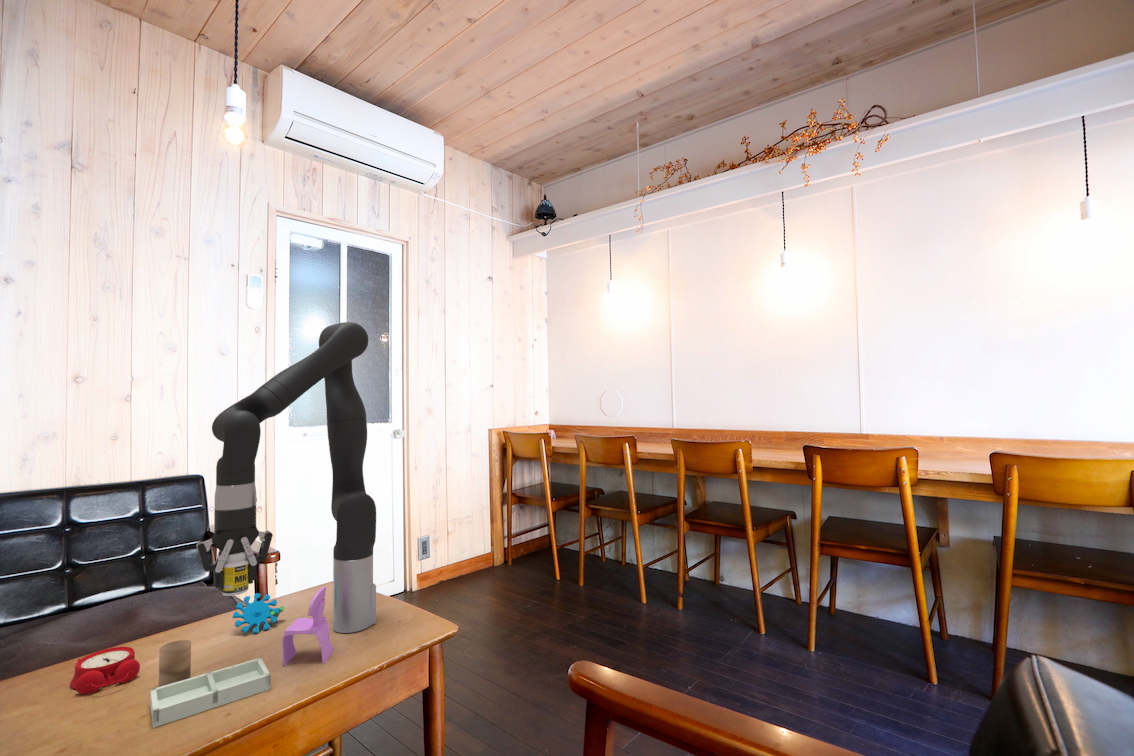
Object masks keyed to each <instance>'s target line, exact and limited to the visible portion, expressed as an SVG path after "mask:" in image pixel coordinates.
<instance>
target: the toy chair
mask: <svg viewBox="0 0 1134 756" xmlns="http://www.w3.org/2000/svg"><path fill="white" fill-rule="evenodd" d="M325 596H326V586H325V585H324V586H322V587H320V588H319V589H318V591H317V592H316V593H315V594H314V596H313V597H312V599H311V600H310V603H309V607H308V613H307V616H308V617H309V618H307V617H297V618H296V619H295V620H294V621H293V622H292V623H291V624H290V625H289V626H288V627H287V628H286V629H285V630H284V635H283V636H282V638H281V640H282V641H281V646H282V649H281V650H282V667H286V666H287V665H288V663H289V662H290V661H291V660H292V659H293V657H294V656H295V655H296V654H297V652H298V651H297V649H296V647H295V644H294V635H314V636H315V637H316V639H317V640H318V643H319V645H320V646H319V647H320V650H321V664H322V665H324V664H325V663H326V661H327V660H329V657H331V656H332V654H333V652H334V651H335V650H334V647H333V645H332V642H331V639H330V626H329V622H328V620H327V616H324V611H325V610H324V608H325V605H326V603H325V602H326V598H325Z"/></svg>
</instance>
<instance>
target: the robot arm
mask: <svg viewBox="0 0 1134 756" xmlns="http://www.w3.org/2000/svg"><path fill="white" fill-rule="evenodd" d="M368 345H369V335H368V333H367V331H366V329H365V328H364V327H363V326H362V325H361V324H358V323H357V322H354V321H353V322H349V321H346V322H339V323H336V324H335V323H334V324H331V325H328V326H326V327H325V328H324V329H322V331H321V333H320V335H319V338H318V347H319V348H317V349H316V350H314V351H313V352H312V353H310V354H309V355H308V356H306V357H304V358H303V359H301V360H299V361H297V362H296V363H294V364H291V365H290V366H288V367H287V368H285V369H283V370H282V371H280V372H278V373H277V374H275V375H274V376H272V377H271V378H270V379H269V380H267V381H265V383H263V384H262V385H261V386H259V387H258V388H257V389H256V390H255V391H253V392H251V394H249V395H247V396H245V397H244V398H242V399H241V400H238V401H237V402H235V403H234V404H232V405H230V406H228V407H227V408H226V409H224V410H222V411H221V412H220V413H219V414H218V415H217V416H216V417H215V418H214V420H213V421H212V425H211V432H212V435H213V436H214V438H216V439H217V440H218V441H220V442H223V447H222V456H221V457H220V458H218V460H217V462H216V468H215V469H216V470H215V474H216V475H215V491H214V509H213V510H214V513H213V514H214V516H213V517H214V519H213V520H214V522H213V524H214V527H213V528H214V531H213V534H212V536H211V538H210V539H207V540H205V541H198V542H197V543H195V547H196V550H197V552H198V556H199V558H200V561H201V565H202V567H203V569H204V571H205V572H212V573H213V585H214V587H215V589H218V591H222V590H223V571H222V568H223V566H224V563H225V562H226V559H227V557H228V555H229V554H235V553H241V552H246V555H247V558H246V559H248V561H249V584H248V585H251V584H253V583H254V581H256V579H257V565H258V564H259V563H261V562H264V561H266V560H267V557H268V554H269V549H270V546H271V542H272V540H273V539H272V538H273V533H272V532H271V531H270V530H265V531H259V529H258V528H257V502H258V497H257V489H256V465H255V463H256V458H257V454H258V450H259V446H260V439H261V423H262V422H264V421H265V420H267V419H269V418H273V417H276V416H278V415H279V414H281V413H282V412H284V411H285V410H286V409H287V408H289V407H290V406H291V405H292V404H293V403H294V402H296V401H297V400H298V399H299V398H300V397H301V396H303V395H304V394H305V393H306V392H308V391H309V389H311V388H313V386H315V385H316V384H318V383H319V382H320V381H322V380H324V390H325V404H326V426H327V427H326V429H327V431H326V432H327V439H328V447H329V448H328V449H329V456H330V457H329V459H330V463H331V469H332V471H331V472H332V488H331V491H332V492H331V502H330V503H331V505H330V507H331V508H330V509H331V515H332V516H333V517H332V518H333V519H334V520H335V521H336V534H335V535H336V538H335V539H336V540H335V545H334V546H333V555H332V556H333V558H332V559H333V560H332V561H333V566H332V567H333V568H332V569H333V570H332V571H333V574H332V577H333V578H332V579H333V581H332V584H333V585H332V586H333V587H332V592H333V593H332V630H333V631H334V632H337V633H340V634H350V633H351V634H352V633H357V632H360V631H363V630H367V628H369V627H371V626H372V625H375V624H377V585H376V583H374V546H375V543H376V535H377V506H376V503H375V501H374V498H372V496H370V495H369V494H368V493H366V492H367V491H366V486H365V481H364V480H365V479H364V459H365V455H366V448H367V443H368V426H367V425H368V424H367V423H368V422H367V413H366V408H365V407H366V406H365V405H364V404H365V403H364V402H363V400H362V397H361V395H360V393H359V391H358V389H357V386H356V385H355V381H354V375H353V360H355V359H356V358H358V357H359V356H361V355H363V354H364V352H366V350H367V349H368ZM258 537H259V541H260V548H259V551H258V554H257V555H255V553H254V551H253V549H252V545H253V544H254V543H255V541H256V540H257V538H258ZM212 545H214V546H215V547H216V548H217V549H218V550H219V551H218V553H217V555H216V560H215V562H214V563H211V561H210V558H209V555H208V552H209V551H210V550H211V546H212Z"/></svg>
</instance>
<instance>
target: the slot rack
mask: <svg viewBox="0 0 1134 756" xmlns="http://www.w3.org/2000/svg"><path fill="white" fill-rule="evenodd" d="M271 676H272V675H271V673H270V671H269V669H268V668H267V666H266V664H265V662H264V660H263V659H262V658H261V657H258V658H254V659H251V660H247V661H244V662H241V663H237V664H234V665H231V666H227V667H224V668H223V667H222V668H220V669H217V670H213V671H209V672H205V673H203V674H202V673H201V674H200V675H196V676H193V677H190V678H189V679H185V680H182V681H178V682H175V683H171V684H168V685H165V686H161V687H159V686H158V687H155V688H152V689H150V690H149V691H150V694H149V708H150V714H151V715H150V716H151V724H152V729H154V728H157V727H159V726H160V727H161V726H162V725H166V724H169V723H172V722H177V721H178V720H181V719H185V718H188V717H190V716H193V715H197V714H200V713H202V712H205V711H209V710H211V709H215V708H218V707H221V706H224V705H227V704H230V703H232V702H233V703H234V702H236V701H239V700H242V699H247V698H248V697H251V696H255V695H258V694H261V693H264V692H266V691H269V690H271V683H272V682H271V678H272V677H271Z"/></svg>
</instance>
